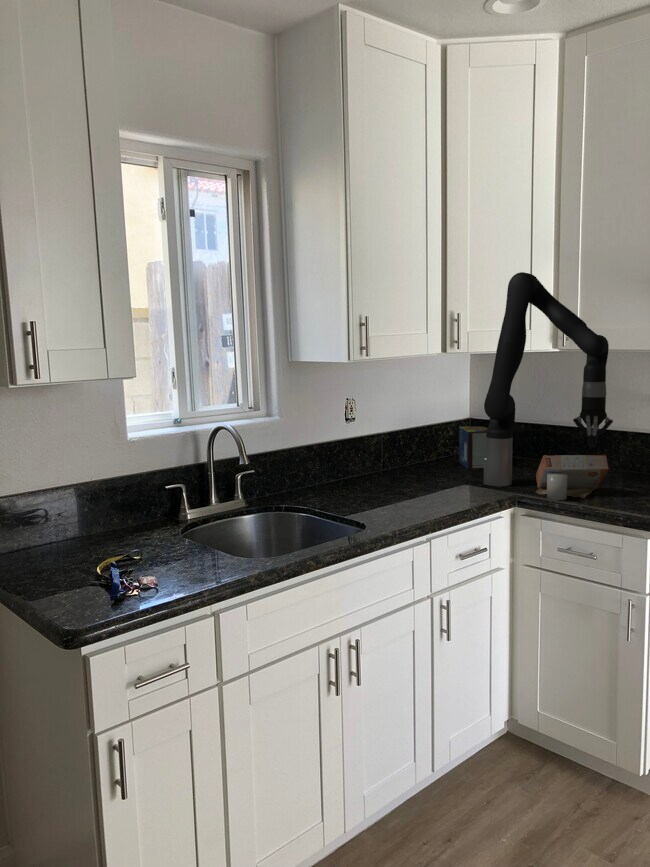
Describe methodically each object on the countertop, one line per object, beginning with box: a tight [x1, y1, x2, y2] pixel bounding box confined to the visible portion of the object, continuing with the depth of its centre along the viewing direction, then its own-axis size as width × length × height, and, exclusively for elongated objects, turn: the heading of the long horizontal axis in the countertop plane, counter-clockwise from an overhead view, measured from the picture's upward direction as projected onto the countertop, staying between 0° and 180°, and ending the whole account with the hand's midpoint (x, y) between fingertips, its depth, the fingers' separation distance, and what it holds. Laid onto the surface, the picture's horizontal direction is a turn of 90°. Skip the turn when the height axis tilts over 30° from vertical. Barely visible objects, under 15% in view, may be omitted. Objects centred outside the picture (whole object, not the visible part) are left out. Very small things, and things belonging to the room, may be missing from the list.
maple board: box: [535, 488, 597, 499], centre depth 248 cm, size 16×18×1 cm
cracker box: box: [535, 454, 610, 489], centre depth 244 cm, size 14×6×21 cm
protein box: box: [458, 425, 488, 470], centre depth 299 cm, size 10×15×16 cm
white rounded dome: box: [546, 473, 568, 501], centre depth 237 cm, size 6×6×8 cm
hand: (592, 446), depth 242 cm, fingers closed
